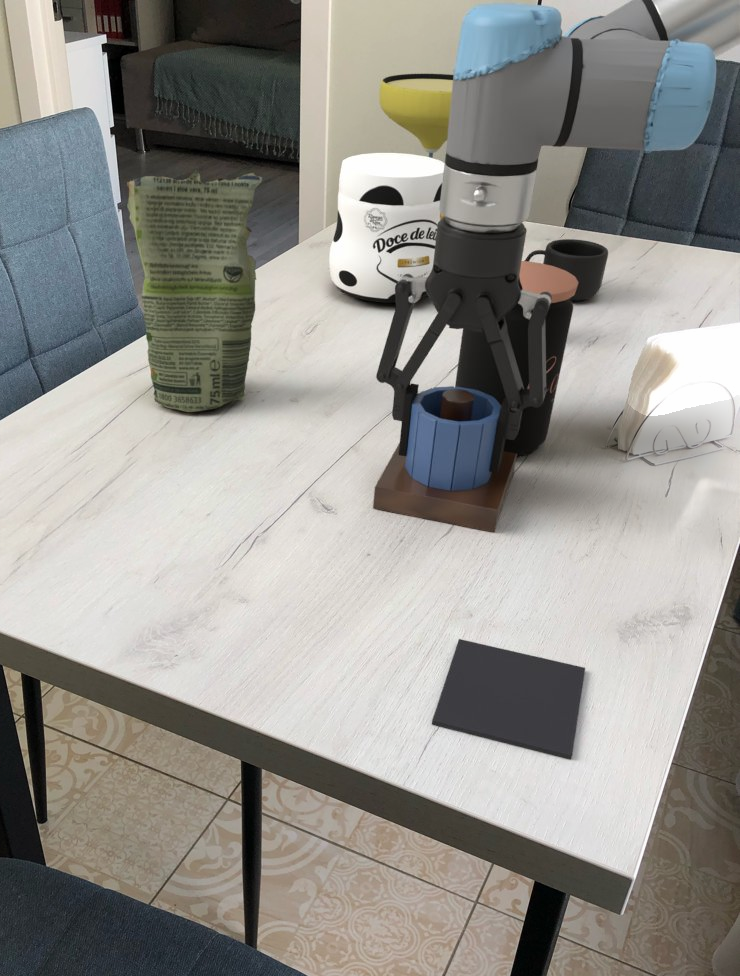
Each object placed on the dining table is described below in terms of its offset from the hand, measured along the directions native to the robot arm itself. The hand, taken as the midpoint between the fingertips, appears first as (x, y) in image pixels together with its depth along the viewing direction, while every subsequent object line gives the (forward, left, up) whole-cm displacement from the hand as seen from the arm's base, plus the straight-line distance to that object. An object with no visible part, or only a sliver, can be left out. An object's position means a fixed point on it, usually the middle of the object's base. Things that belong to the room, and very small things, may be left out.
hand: (449, 457), depth 93 cm
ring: (0, 0, -1) cm, 1 cm away
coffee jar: (-3, -13, -4) cm, 14 cm away
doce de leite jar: (+21, -55, -4) cm, 59 cm away
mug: (-4, -64, -4) cm, 65 cm away
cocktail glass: (+21, -80, -4) cm, 83 cm away
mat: (-11, +29, -4) cm, 31 cm away
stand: (0, 0, -4) cm, 4 cm away
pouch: (+32, -11, -4) cm, 34 cm away
